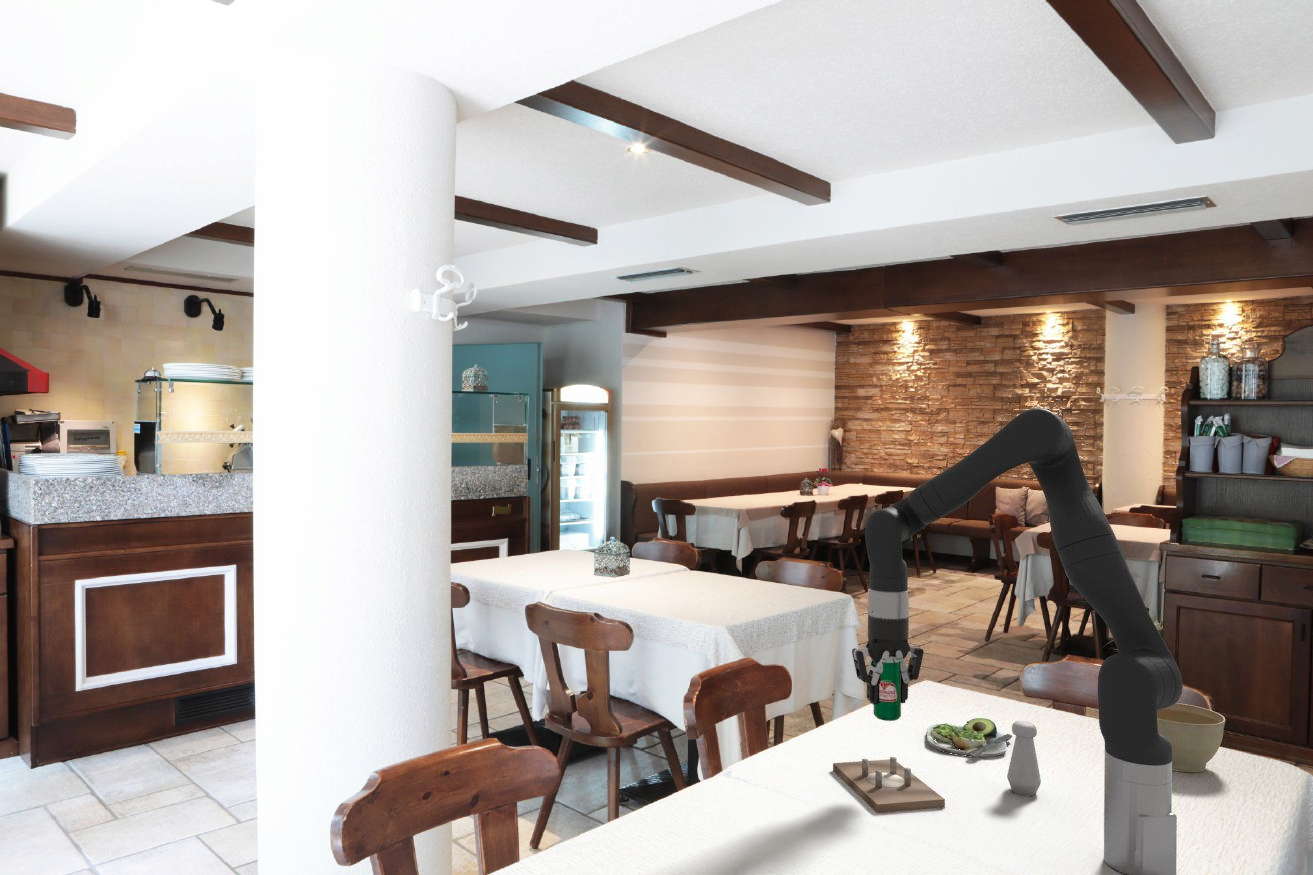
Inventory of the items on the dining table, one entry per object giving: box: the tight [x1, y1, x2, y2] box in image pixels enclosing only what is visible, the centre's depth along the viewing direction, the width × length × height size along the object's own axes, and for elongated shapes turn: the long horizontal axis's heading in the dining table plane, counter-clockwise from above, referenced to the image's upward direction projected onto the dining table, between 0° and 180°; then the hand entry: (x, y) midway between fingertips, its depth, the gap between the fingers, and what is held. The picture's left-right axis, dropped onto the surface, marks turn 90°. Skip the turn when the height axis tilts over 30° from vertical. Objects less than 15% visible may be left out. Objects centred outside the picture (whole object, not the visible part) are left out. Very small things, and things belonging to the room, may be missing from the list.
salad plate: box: [926, 717, 1013, 758], centre depth 189 cm, size 19×18×5 cm
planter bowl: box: [1157, 702, 1226, 773], centre depth 179 cm, size 16×16×11 cm
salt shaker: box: [1006, 720, 1042, 797], centre depth 164 cm, size 6×6×13 cm
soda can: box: [873, 656, 902, 722], centre depth 165 cm, size 5×5×12 cm
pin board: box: [832, 756, 946, 814], centre depth 165 cm, size 20×13×4 cm, turn 11°
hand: (887, 702), depth 165 cm, fingers closed on soda can, 5 cm apart
